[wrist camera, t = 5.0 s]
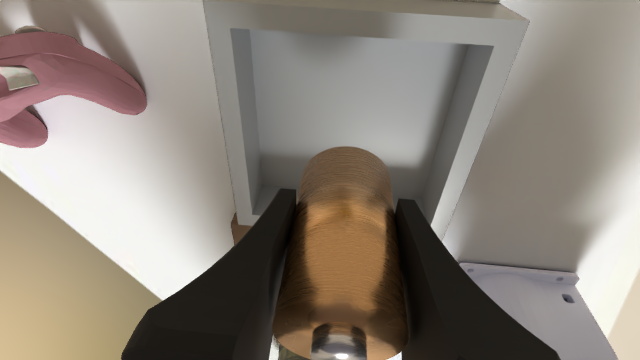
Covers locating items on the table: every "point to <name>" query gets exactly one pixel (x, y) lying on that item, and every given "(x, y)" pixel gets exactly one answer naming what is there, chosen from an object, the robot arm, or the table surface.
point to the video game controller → (55, 81)
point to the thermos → (289, 355)
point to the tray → (359, 90)
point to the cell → (343, 263)
